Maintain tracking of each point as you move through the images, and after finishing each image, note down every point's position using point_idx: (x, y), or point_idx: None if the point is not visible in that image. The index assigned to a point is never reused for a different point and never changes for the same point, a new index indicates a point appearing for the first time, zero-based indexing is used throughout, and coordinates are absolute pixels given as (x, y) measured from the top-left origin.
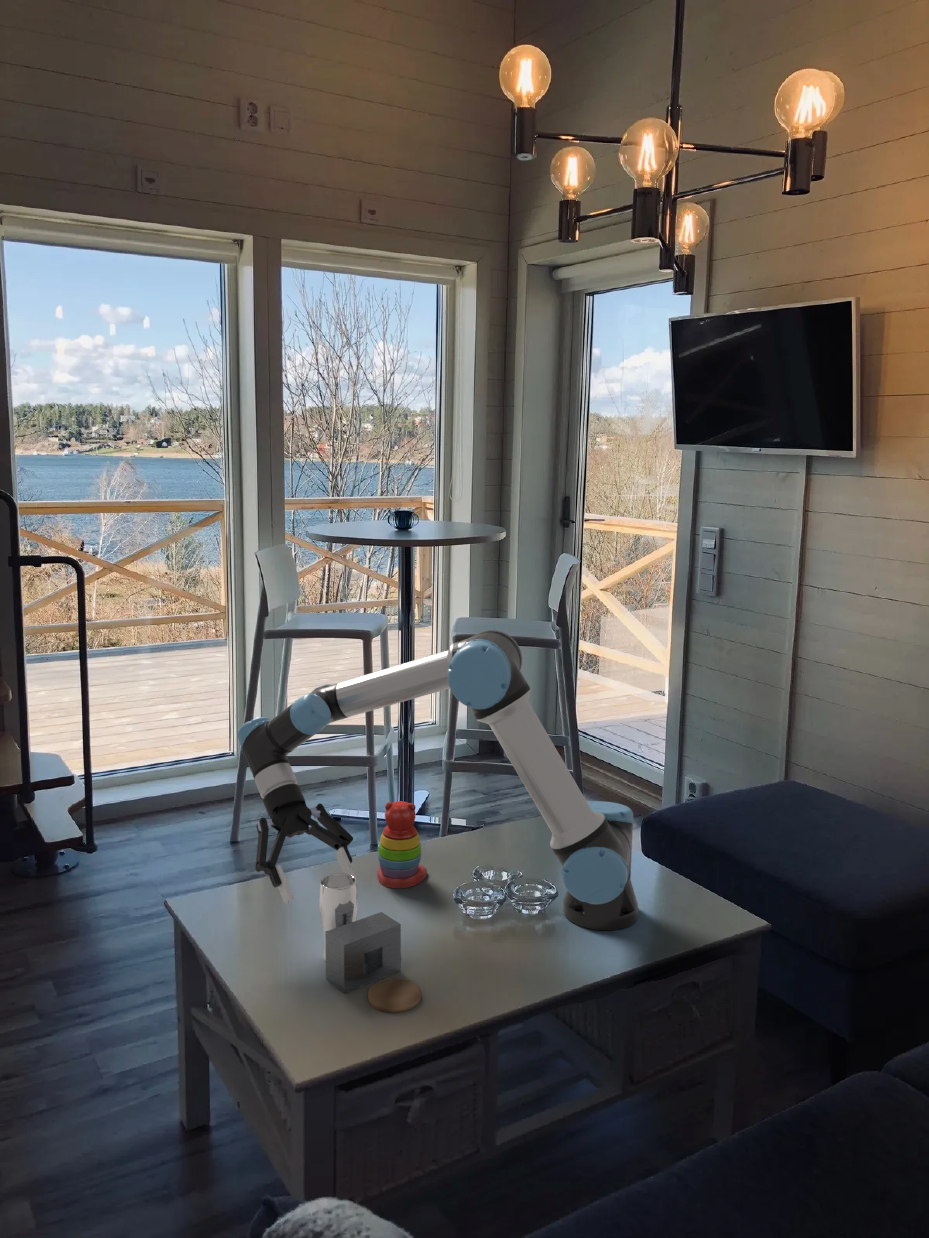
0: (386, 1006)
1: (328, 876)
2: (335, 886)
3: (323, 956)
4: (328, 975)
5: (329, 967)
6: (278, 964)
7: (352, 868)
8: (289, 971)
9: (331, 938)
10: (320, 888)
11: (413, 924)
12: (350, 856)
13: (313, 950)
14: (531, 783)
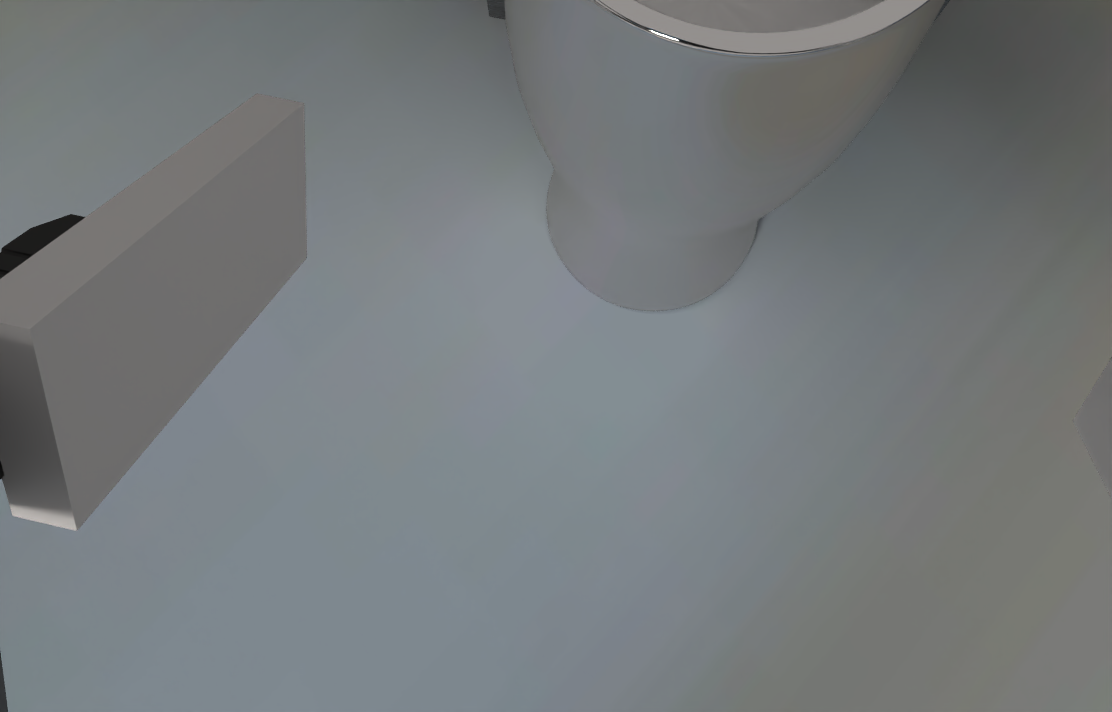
0: None
1: (734, 36)
2: (602, 110)
3: (748, 251)
4: None
5: None
6: (979, 436)
7: (197, 139)
8: (982, 318)
9: None
10: (942, 2)
11: (45, 134)
12: (7, 256)
13: (706, 393)
14: None
